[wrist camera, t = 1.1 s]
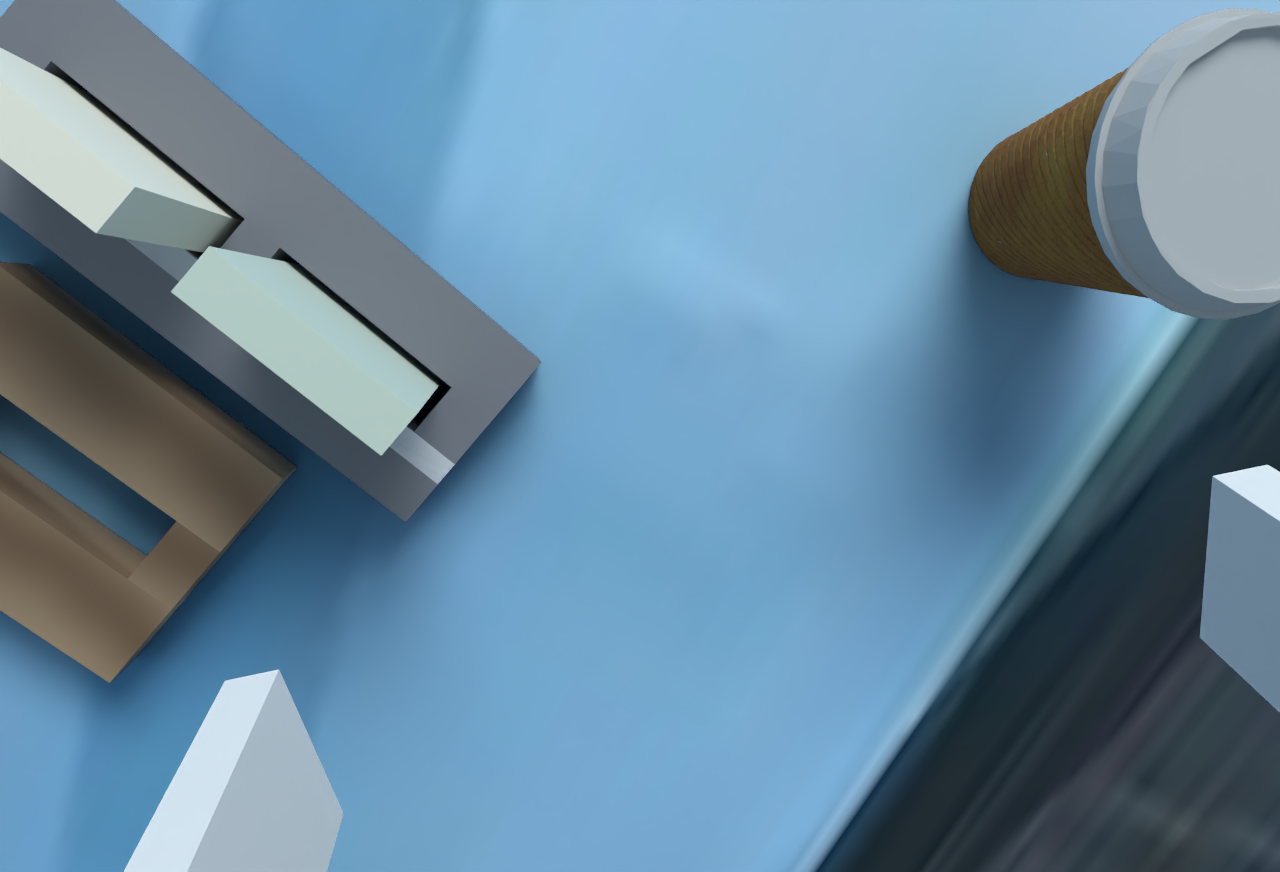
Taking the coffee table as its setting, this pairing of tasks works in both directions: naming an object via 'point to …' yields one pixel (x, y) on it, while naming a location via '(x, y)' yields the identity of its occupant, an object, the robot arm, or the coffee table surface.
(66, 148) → the pale green slab
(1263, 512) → the robot arm
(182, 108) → the grey slotted plate
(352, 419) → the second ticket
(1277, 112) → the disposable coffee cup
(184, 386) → the frame
